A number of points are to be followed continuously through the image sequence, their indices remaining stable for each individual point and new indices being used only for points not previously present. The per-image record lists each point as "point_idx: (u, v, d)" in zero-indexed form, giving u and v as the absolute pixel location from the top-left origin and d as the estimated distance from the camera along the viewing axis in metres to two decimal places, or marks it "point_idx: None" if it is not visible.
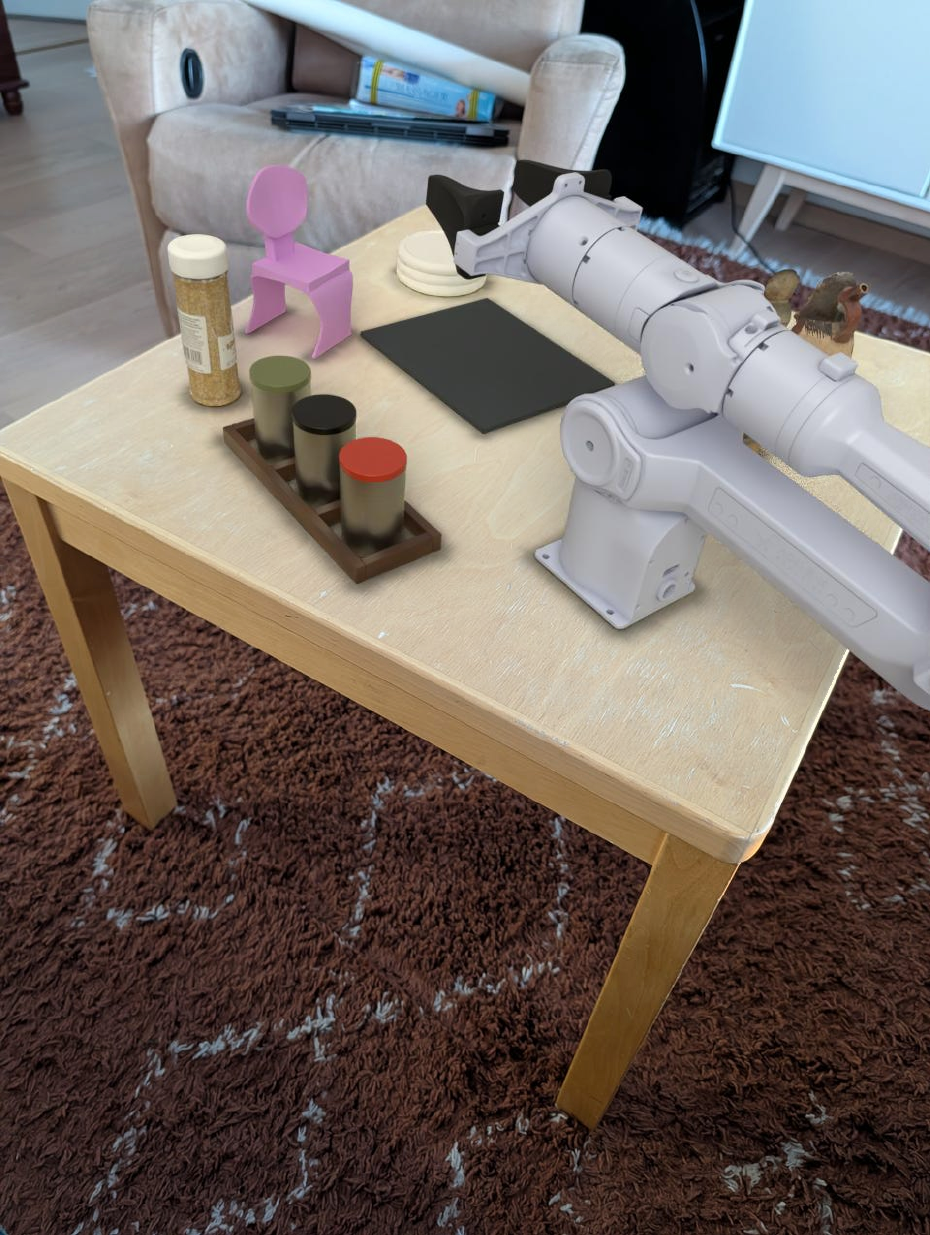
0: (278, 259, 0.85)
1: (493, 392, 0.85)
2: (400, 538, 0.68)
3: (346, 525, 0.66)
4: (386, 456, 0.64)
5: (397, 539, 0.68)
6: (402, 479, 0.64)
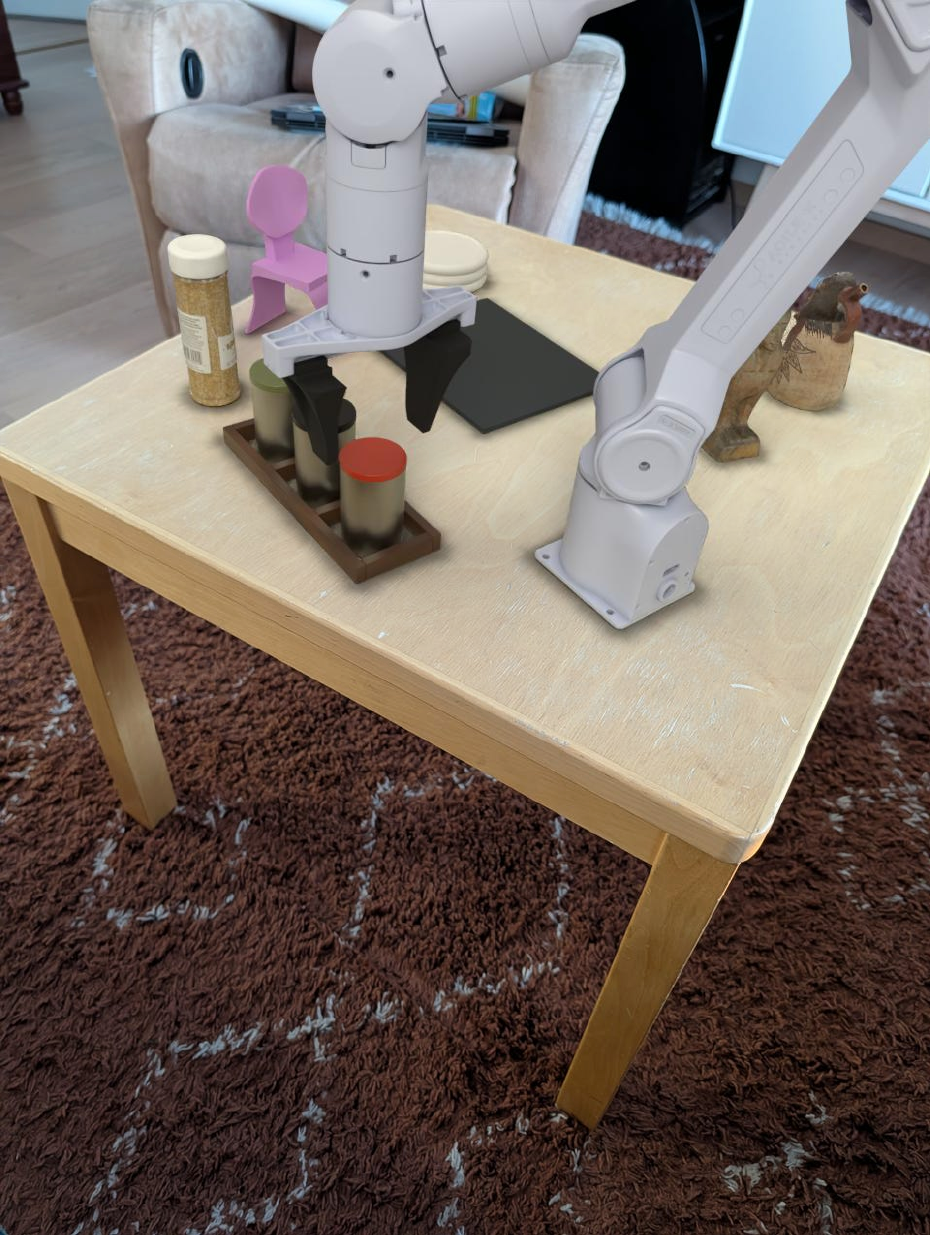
0: (278, 259, 0.85)
1: (493, 392, 0.85)
2: (400, 538, 0.68)
3: (346, 525, 0.66)
4: (386, 456, 0.64)
5: (397, 539, 0.68)
6: (402, 479, 0.64)
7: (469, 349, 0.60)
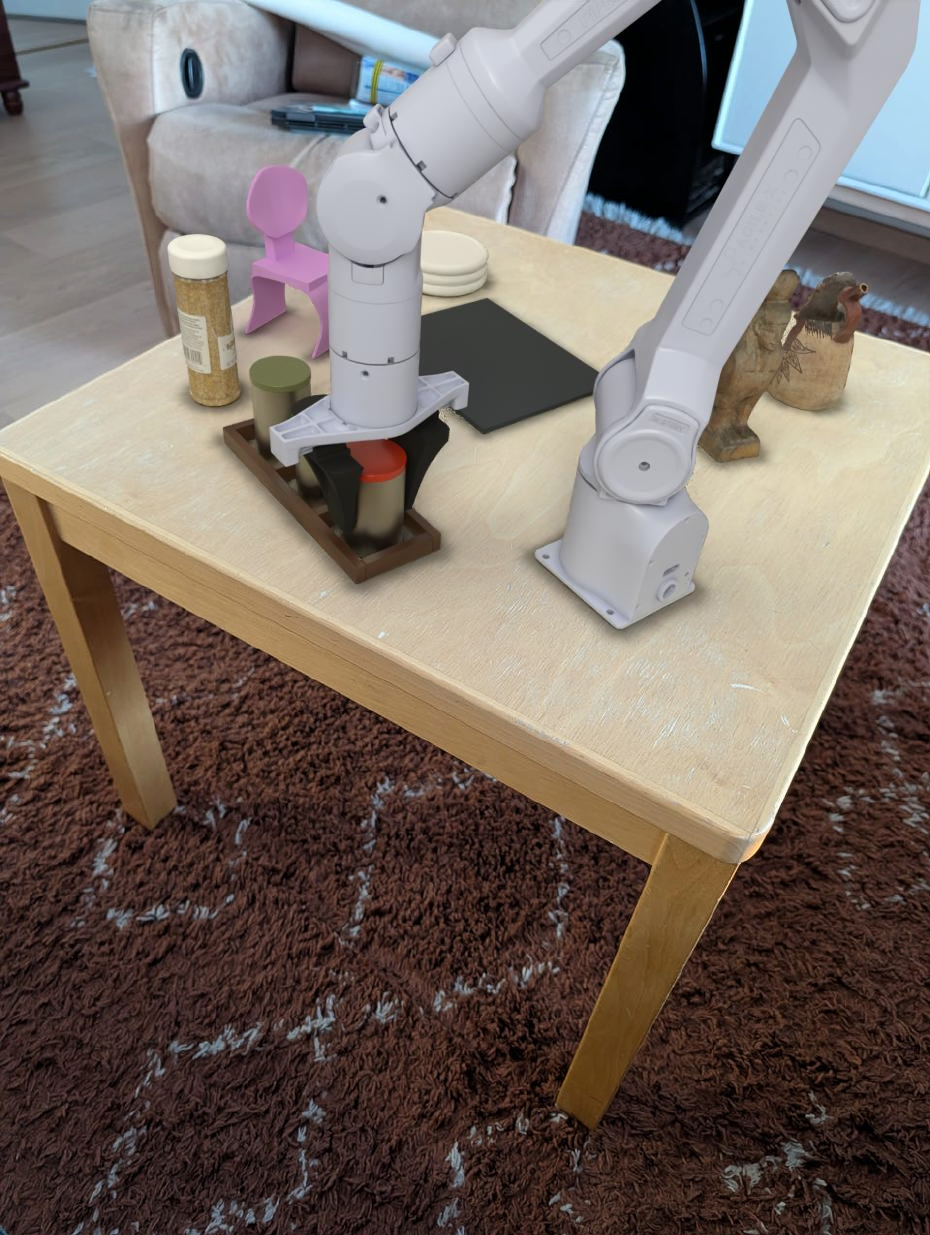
0: (278, 259, 0.85)
1: (493, 392, 0.85)
2: (400, 538, 0.68)
3: None
4: (386, 456, 0.64)
5: (397, 539, 0.68)
6: (402, 479, 0.64)
7: (447, 437, 0.63)
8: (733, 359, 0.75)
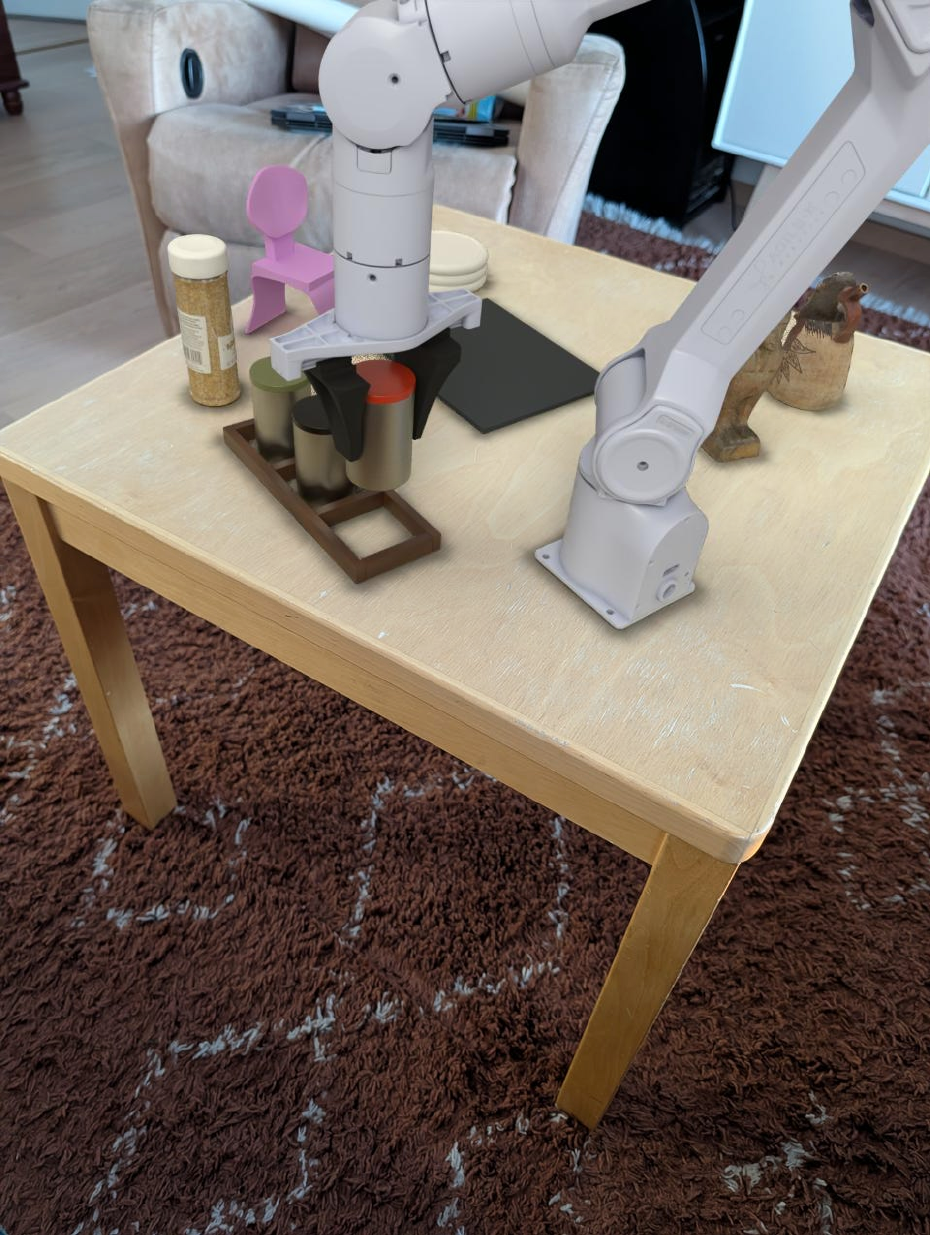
0: (278, 259, 0.85)
1: (493, 392, 0.85)
2: (408, 470, 0.64)
3: None
4: (393, 378, 0.60)
5: (405, 470, 0.64)
6: (411, 403, 0.60)
7: (459, 356, 0.59)
8: None
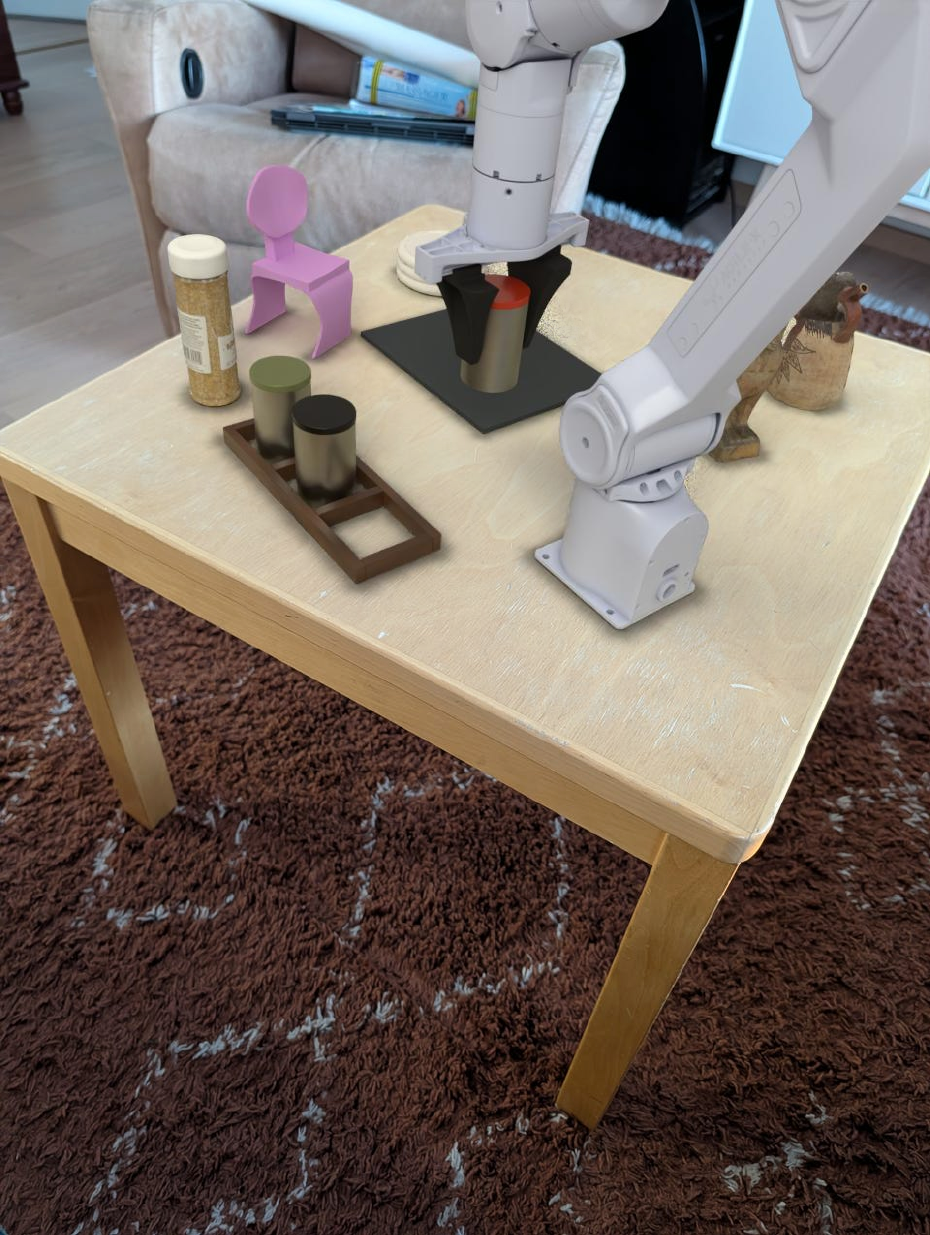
0: (278, 259, 0.85)
1: None
2: (517, 375, 0.73)
3: None
4: (511, 288, 0.68)
5: (515, 374, 0.72)
6: (526, 311, 0.69)
7: (570, 269, 0.68)
8: None
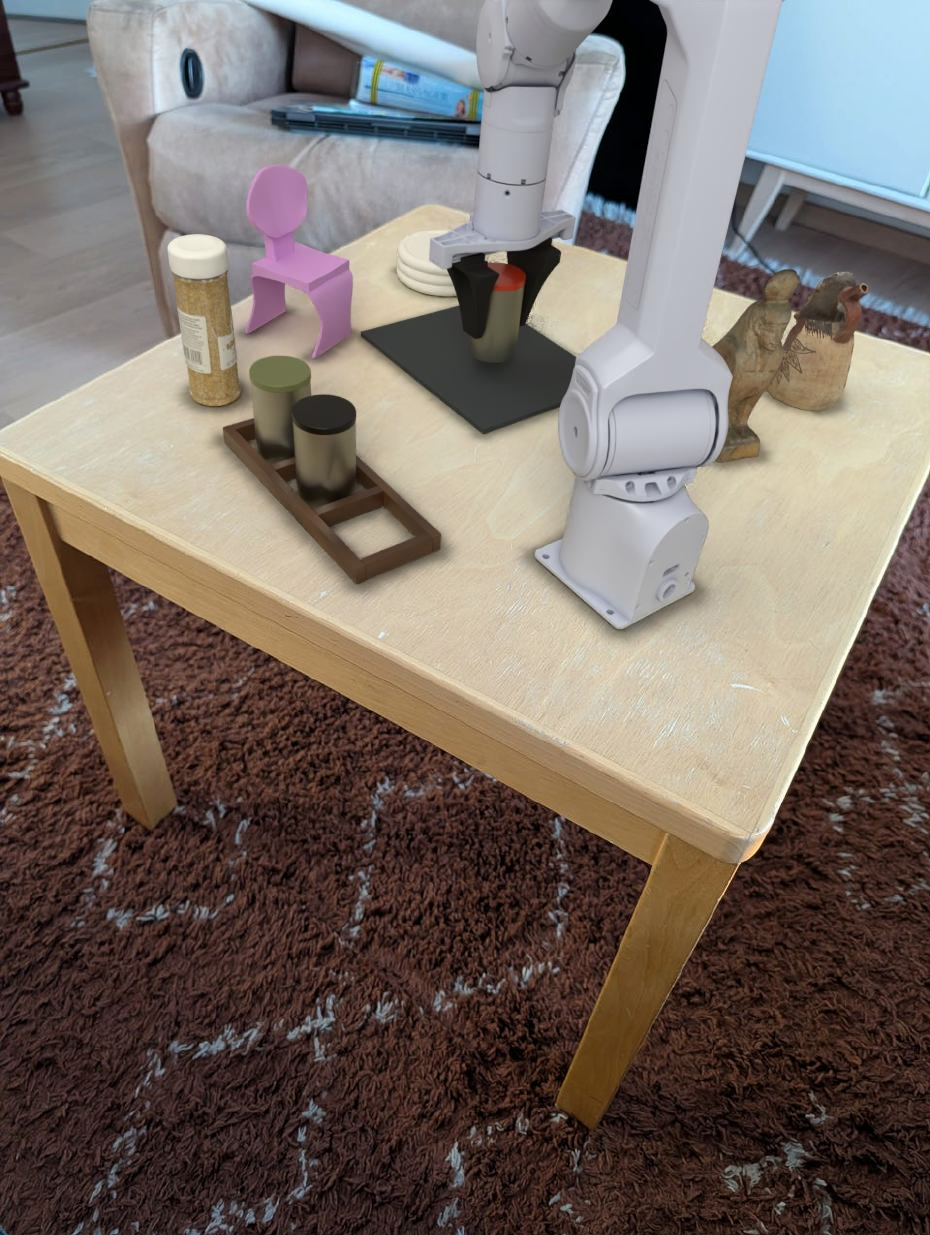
0: (278, 259, 0.85)
1: (493, 392, 0.85)
2: (515, 348, 0.86)
3: None
4: (510, 274, 0.81)
5: (513, 347, 0.85)
6: (522, 292, 0.82)
7: (559, 258, 0.81)
8: (733, 359, 0.75)
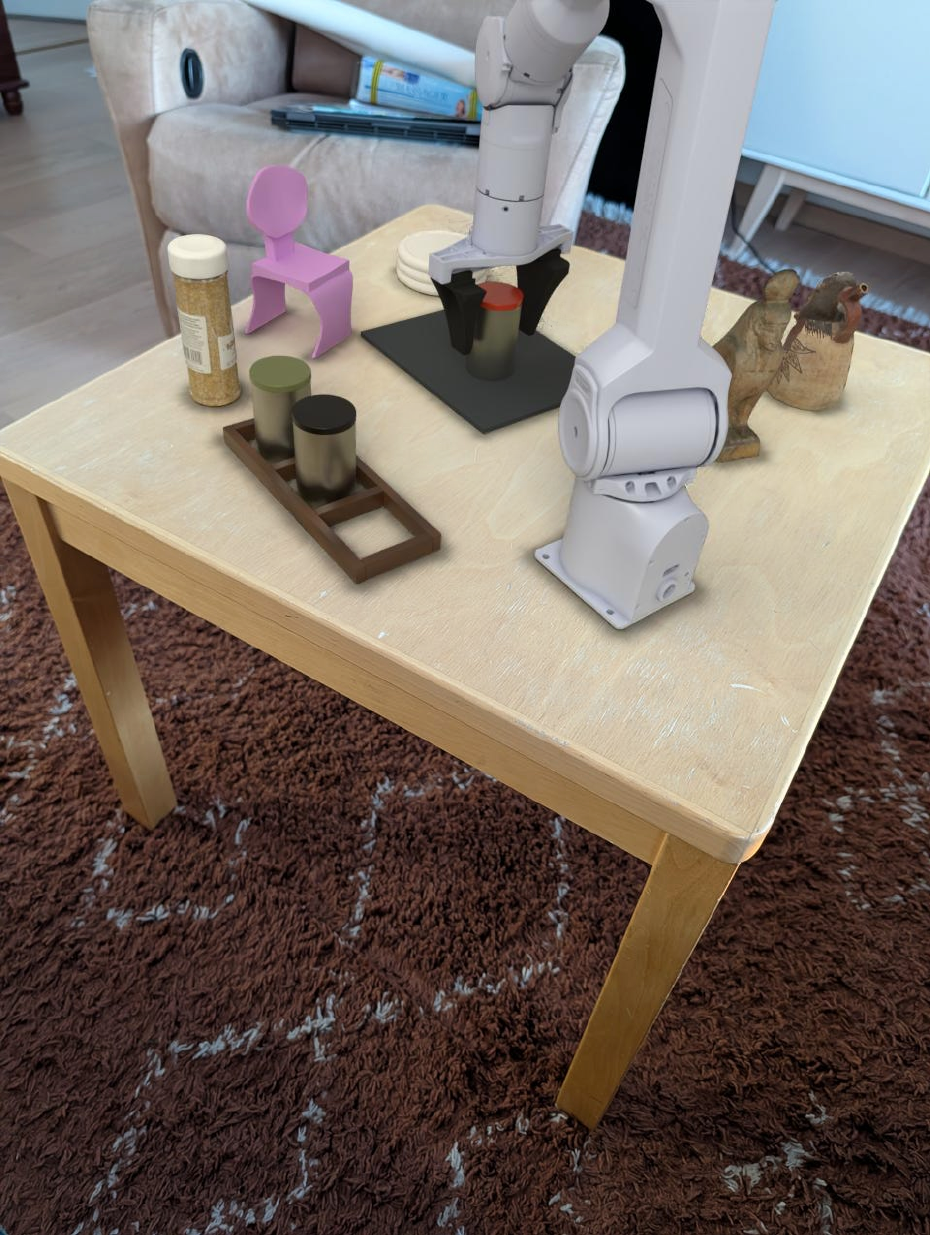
0: (278, 259, 0.85)
1: (493, 392, 0.85)
2: (513, 365, 0.87)
3: (473, 352, 0.85)
4: (507, 293, 0.83)
5: (511, 365, 0.86)
6: (519, 312, 0.83)
7: (568, 269, 0.82)
8: (733, 359, 0.75)
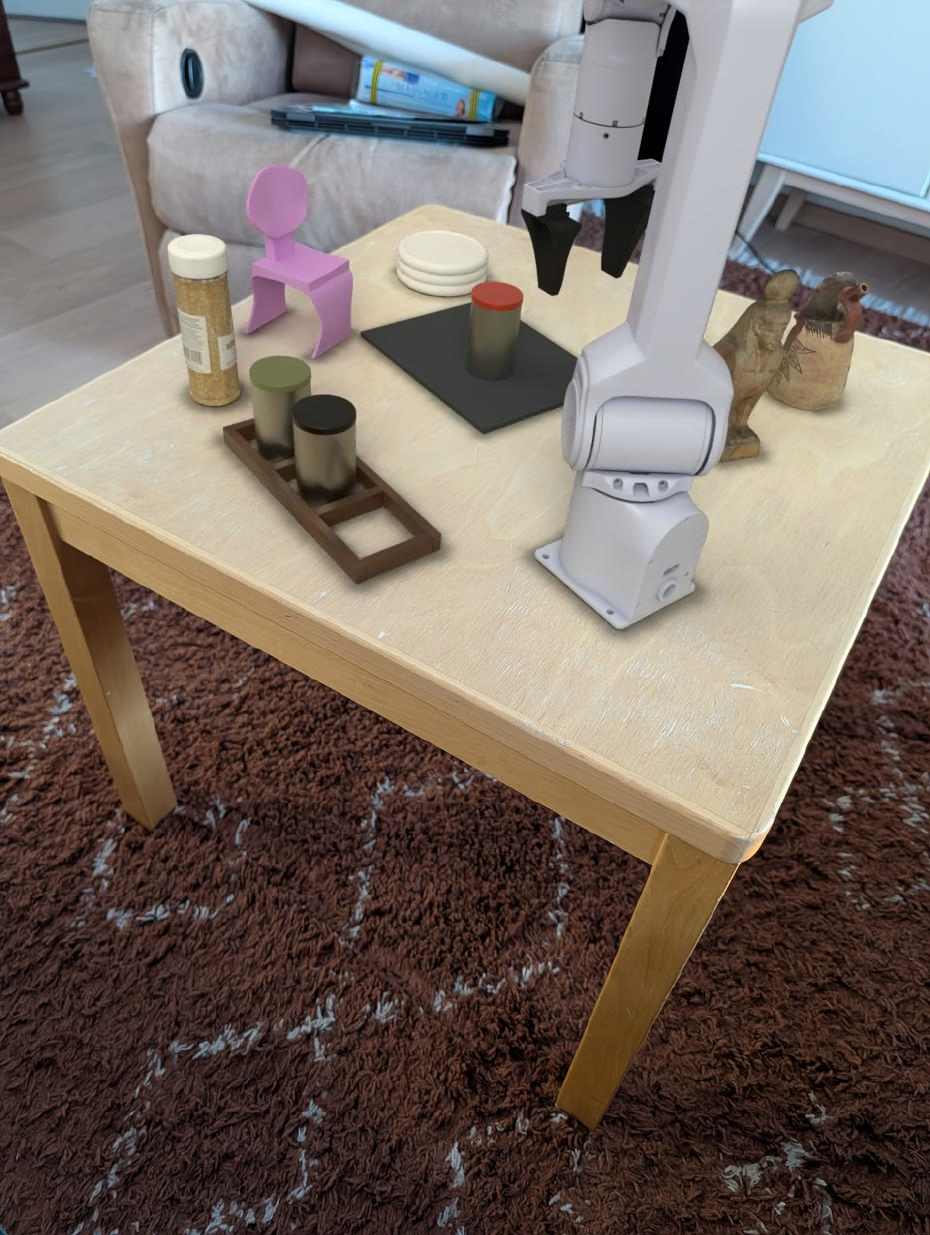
0: (278, 259, 0.85)
1: (493, 392, 0.85)
2: (513, 365, 0.87)
3: (473, 352, 0.85)
4: (507, 293, 0.83)
5: (511, 365, 0.86)
6: (519, 312, 0.83)
7: None
8: (733, 359, 0.75)
